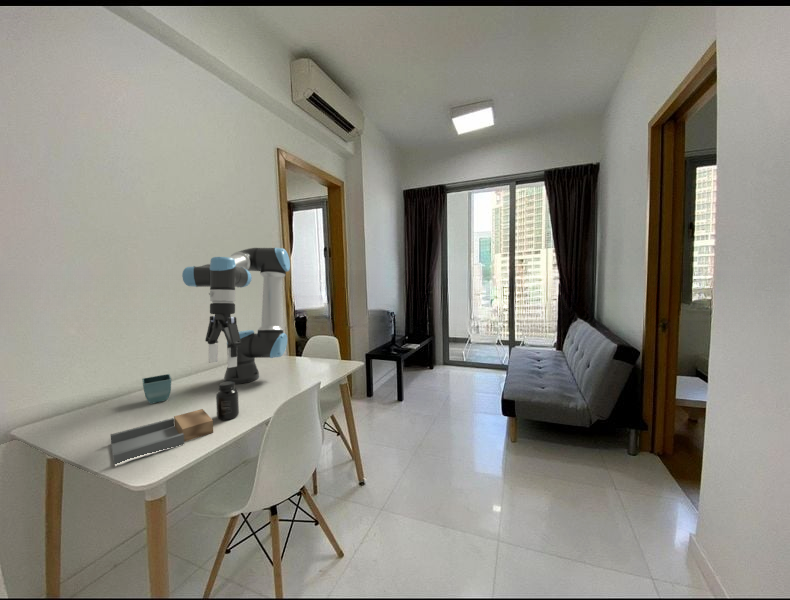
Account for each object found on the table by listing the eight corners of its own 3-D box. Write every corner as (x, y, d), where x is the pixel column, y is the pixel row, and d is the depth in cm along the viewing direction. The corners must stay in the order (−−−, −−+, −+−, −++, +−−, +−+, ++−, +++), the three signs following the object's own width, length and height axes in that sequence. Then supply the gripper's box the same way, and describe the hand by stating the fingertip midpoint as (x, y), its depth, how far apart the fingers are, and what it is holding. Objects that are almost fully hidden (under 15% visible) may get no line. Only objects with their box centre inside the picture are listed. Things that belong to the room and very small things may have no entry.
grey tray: (173, 426, 99) (173, 417, 99) (184, 444, 89) (183, 434, 88) (111, 444, 88) (110, 434, 88) (114, 466, 78) (113, 455, 78)
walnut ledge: (202, 420, 104) (202, 408, 104) (213, 432, 95) (212, 420, 95) (174, 428, 98) (174, 416, 98) (182, 442, 90) (182, 429, 89)
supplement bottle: (243, 413, 109) (242, 380, 108) (229, 422, 103) (227, 387, 102) (227, 411, 111) (226, 379, 110) (212, 419, 104) (210, 385, 103)
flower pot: (144, 407, 114) (142, 384, 114) (143, 400, 121) (142, 378, 120) (172, 401, 120) (171, 379, 119) (170, 394, 127) (169, 373, 126)
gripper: (194, 302, 108) (194, 362, 108) (229, 302, 93) (229, 371, 93) (217, 302, 114) (216, 358, 114) (252, 302, 99) (252, 367, 99)
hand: (222, 364), depth 103 cm, fingers open, 13 cm apart
